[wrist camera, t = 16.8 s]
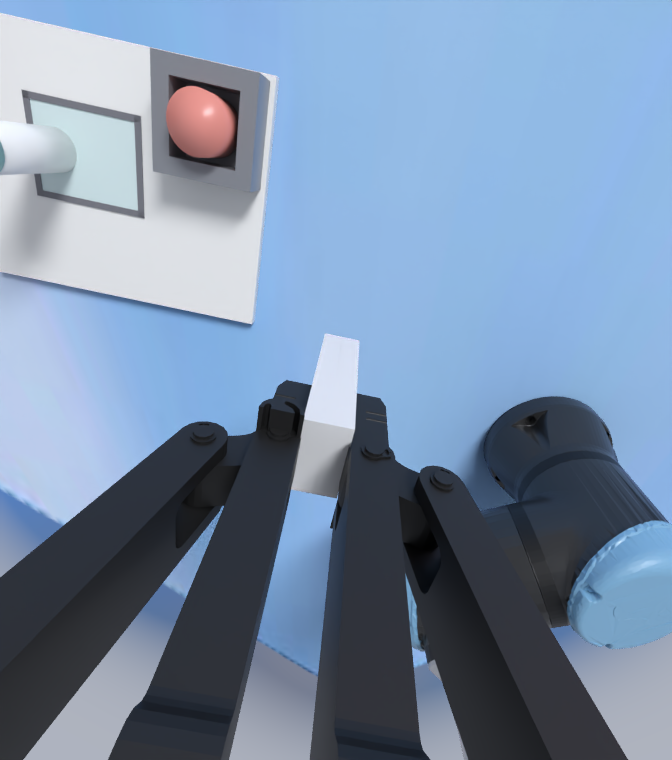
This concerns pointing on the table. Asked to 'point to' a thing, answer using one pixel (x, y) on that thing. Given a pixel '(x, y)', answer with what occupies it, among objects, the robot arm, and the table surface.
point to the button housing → (234, 86)
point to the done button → (202, 123)
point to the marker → (34, 149)
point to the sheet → (119, 184)
